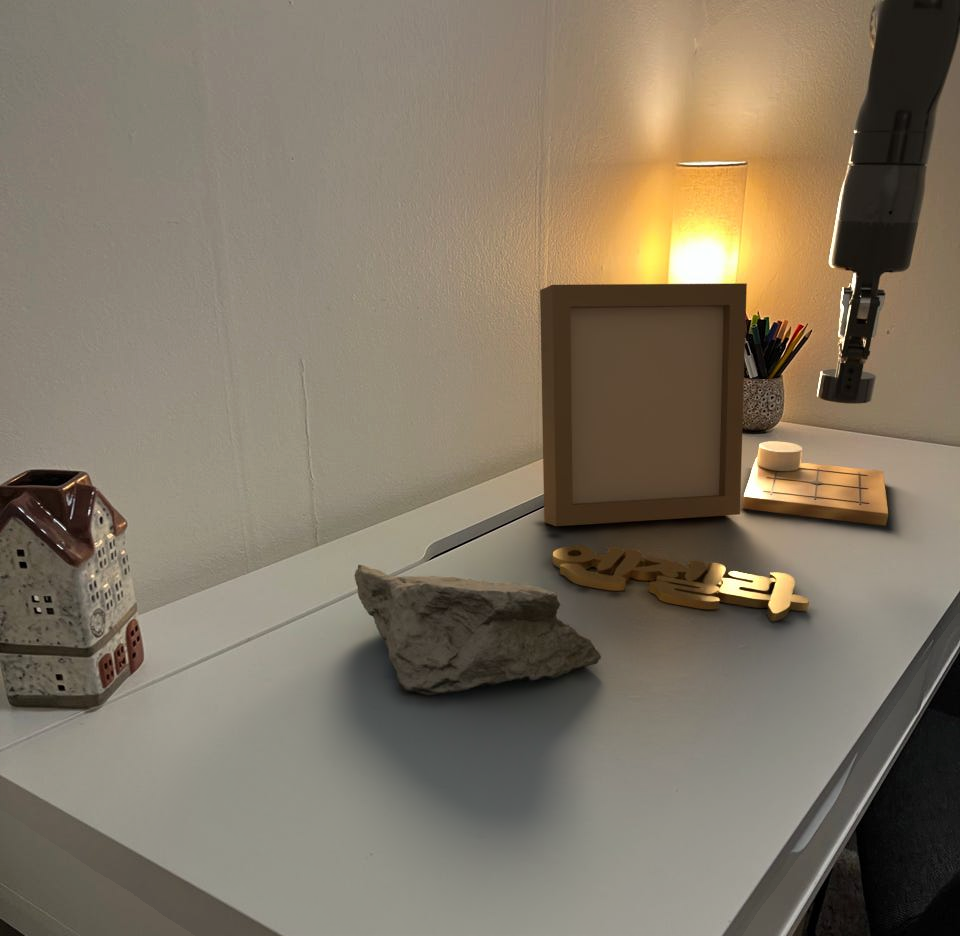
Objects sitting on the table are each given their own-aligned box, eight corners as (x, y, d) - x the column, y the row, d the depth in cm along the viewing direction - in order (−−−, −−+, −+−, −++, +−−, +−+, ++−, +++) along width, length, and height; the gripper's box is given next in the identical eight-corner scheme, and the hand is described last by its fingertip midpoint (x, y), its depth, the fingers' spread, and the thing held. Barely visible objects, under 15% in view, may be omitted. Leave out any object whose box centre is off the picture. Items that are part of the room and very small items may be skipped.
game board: (881, 482, 124) (883, 470, 123) (885, 526, 109) (888, 512, 108) (754, 468, 128) (756, 457, 128) (741, 508, 113) (743, 495, 112)
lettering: (534, 579, 92) (534, 570, 92) (566, 545, 100) (567, 537, 100) (803, 626, 84) (804, 617, 83) (813, 585, 92) (815, 576, 92)
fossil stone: (619, 653, 78) (616, 537, 73) (515, 744, 67) (504, 614, 62) (423, 610, 89) (410, 507, 84) (307, 681, 78) (285, 567, 74)
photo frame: (738, 522, 108) (773, 289, 97) (555, 534, 104) (569, 291, 93) (684, 484, 121) (708, 274, 110) (519, 493, 117) (527, 275, 105)
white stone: (800, 462, 126) (803, 443, 125) (798, 473, 121) (801, 454, 120) (758, 457, 127) (761, 439, 126) (754, 468, 123) (757, 449, 122)
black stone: (870, 395, 102) (875, 371, 100) (872, 405, 97) (877, 380, 96) (817, 391, 103) (821, 367, 102) (816, 401, 98) (820, 376, 97)
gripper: (925, 221, 85) (886, 412, 93) (913, 215, 97) (879, 384, 105) (836, 219, 87) (805, 405, 95) (836, 213, 99) (808, 378, 107)
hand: (844, 393), depth 100 cm, fingers closed on black stone, 5 cm apart
